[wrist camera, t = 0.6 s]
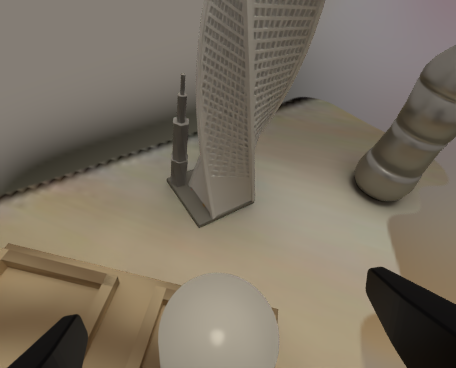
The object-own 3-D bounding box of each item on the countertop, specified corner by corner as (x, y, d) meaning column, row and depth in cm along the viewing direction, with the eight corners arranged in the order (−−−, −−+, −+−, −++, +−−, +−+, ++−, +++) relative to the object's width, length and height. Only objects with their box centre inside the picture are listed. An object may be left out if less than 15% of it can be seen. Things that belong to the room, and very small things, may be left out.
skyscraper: (228, 159, 35) (313, -230, 15) (269, 204, 31) (462, -245, 11) (166, 181, 31) (167, -314, 11) (204, 236, 27) (319, -390, 7)
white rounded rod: (228, 433, 17) (276, 422, 9) (150, 413, 17) (137, 388, 9) (240, 344, 20) (281, 286, 13) (174, 328, 20) (179, 261, 13)
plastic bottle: (350, 163, 38) (460, -7, 24) (399, 182, 37) (546, 16, 23) (346, 195, 34) (477, 10, 20) (402, 216, 33) (584, 38, 19)
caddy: (261, 519, 15) (273, 528, 14) (-126, 423, 15) (-163, 419, 14) (273, 314, 23) (282, 303, 21) (14, 250, 23) (2, 235, 21)
